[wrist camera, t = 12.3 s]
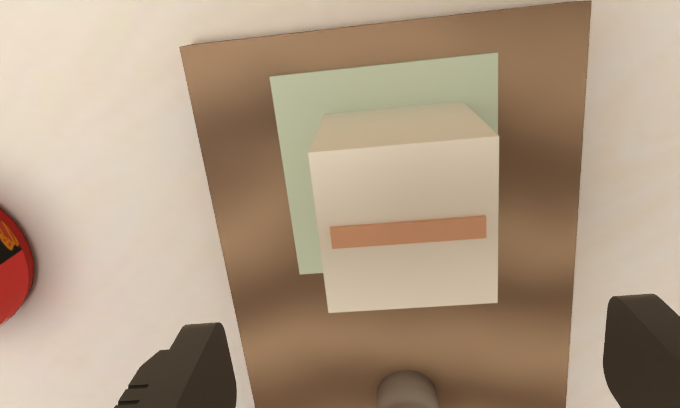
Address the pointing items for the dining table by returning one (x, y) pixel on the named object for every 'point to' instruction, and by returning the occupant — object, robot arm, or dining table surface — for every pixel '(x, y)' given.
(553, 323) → the post board
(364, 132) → the cream drawer box
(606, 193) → the dining table surface
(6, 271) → the canned food
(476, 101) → the mat
